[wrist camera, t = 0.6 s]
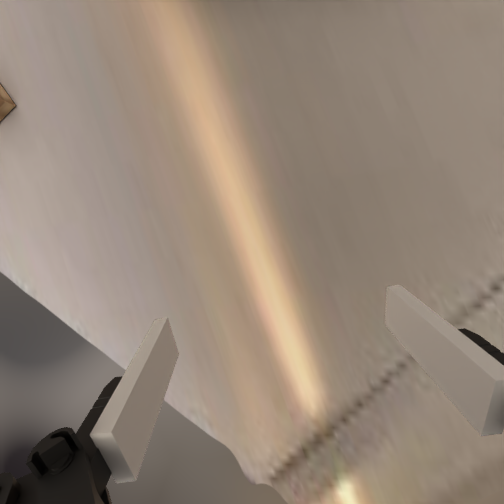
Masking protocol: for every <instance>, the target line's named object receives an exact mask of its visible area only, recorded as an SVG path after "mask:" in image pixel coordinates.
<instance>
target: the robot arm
mask: <svg viewBox="0 0 504 504" xmlns="http://www.w3.org/2000/svg"><path fill="white" fill-rule="evenodd" d="M385 326H386V327H387V328H388V329H389V330H390V332H391V333H392V334H393V335H394V336H395V337H396V339H397V340H398V341H399V342H400V343H401V344H402V345H403V347H404V348H405V349H406V350H407V351H408V352H409V353H410V355H411V356H412V357H413V358H414V359H415V360H416V362H417V363H418V364H419V365H420V366H421V367H422V368H423V370H424V371H425V372H426V373H427V374H428V375H429V377H430V378H431V379H432V380H433V381H434V382H435V383H436V385H437V386H438V387H439V388H440V389H441V390H442V392H443V393H444V394H445V395H446V396H447V397H448V398H449V400H450V401H451V402H452V403H453V404H454V405H455V407H456V408H457V409H458V410H459V411H460V412H461V413H462V415H463V416H464V417H465V418H466V419H467V420H468V421H469V423H470V424H471V425H472V426H473V427H474V428H475V430H476V431H477V432H478V433H479V434H480V435H481V436H486V435H494V434H502V432H503V429H504V353H501V352H500V350H499V349H497V348H496V347H494V346H493V345H491V344H490V343H489V342H488V341H486V340H485V339H484V338H482V337H481V336H479V335H478V334H475V333H473V332H471V331H469V330H467V329H465V328H464V329H456V328H455V327H454V326H452V325H451V324H450V323H449V322H447V321H446V320H445V319H443V318H442V317H441V316H440V315H438V314H437V313H436V312H434V311H433V310H432V309H431V308H429V307H428V306H427V305H425V304H424V303H423V302H422V301H420V300H419V299H418V298H417V297H415V296H414V295H413V294H411V293H410V292H409V291H408V290H406V289H405V288H404V287H402V286H401V285H393V286H387V292H386V312H385ZM178 355H179V352H178V349H177V346H176V342H175V339H174V336H173V333H172V330H171V326H170V323H169V320H168V318H161V319H155V321H154V322H153V324H152V326H151V328H150V329H149V331H148V333H147V335H146V336H145V338H144V340H143V342H142V344H141V345H140V347H139V349H138V351H137V352H136V354H135V356H134V358H133V359H132V361H131V363H130V365H129V366H128V368H127V370H126V372H125V374H124V375H123V376H122V377H115V378H114V379H113V380H112V381H111V382H110V383H108V385H106V387H105V388H104V389H103V391H102V392H101V394H100V396H99V397H98V400H97V401H96V402H95V404H94V406H93V408H92V409H91V410H90V412H89V413H88V415H87V417H86V418H85V420H84V421H83V423H82V425H81V426H80V428H79V429H78V431H77V433H76V434H75V433H74V431H73V429H72V428H68V427H66V428H61V429H58V430H56V431H54V432H52V433H50V434H49V435H47V436H46V437H45V438H43V439H42V440H41V441H40V442H39V443H38V444H37V445H36V446H35V447H34V448H33V450H32V451H31V453H30V455H29V456H28V459H27V463H26V464H27V466H28V467H29V468H30V470H31V471H32V473H30V474H28V475H25V476H23V477H21V478H19V479H15V478H14V477H13V476H12V474H11V473H1V474H0V504H112V502H111V499H110V495H109V491H108V489H107V487H106V485H107V482H108V480H109V478H110V475H111V474H112V476H113V478H114V480H115V482H116V483H121V482H129V481H135V480H136V479H137V476H138V473H139V470H140V467H141V464H142V461H143V458H144V455H145V452H146V449H147V446H148V443H149V440H150V437H151V434H152V432H153V429H154V426H155V423H156V420H157V417H158V414H159V411H160V408H161V405H162V402H163V399H164V396H165V394H166V391H167V388H168V385H169V382H170V379H171V376H172V373H173V370H174V367H175V364H176V361H177V358H178Z"/></svg>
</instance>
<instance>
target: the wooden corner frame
mask: <svg viewBox="0 0 504 504" xmlns="http://www.w3.org/2000/svg"><path fill="white" fill-rule="evenodd" d="M15 106H16V105H15V104H14V103H13V101H12V100H11V98H10V97H9V96H8V94H7V93H6V91H5V90H4V88H3V87H2V86H1V84H0V121H1V120H2V119H3V118H4V117H5V116H6V115H7V114H8V113H9V112H10V111H11V110H12V109H13V108H14V107H15Z"/></svg>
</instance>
